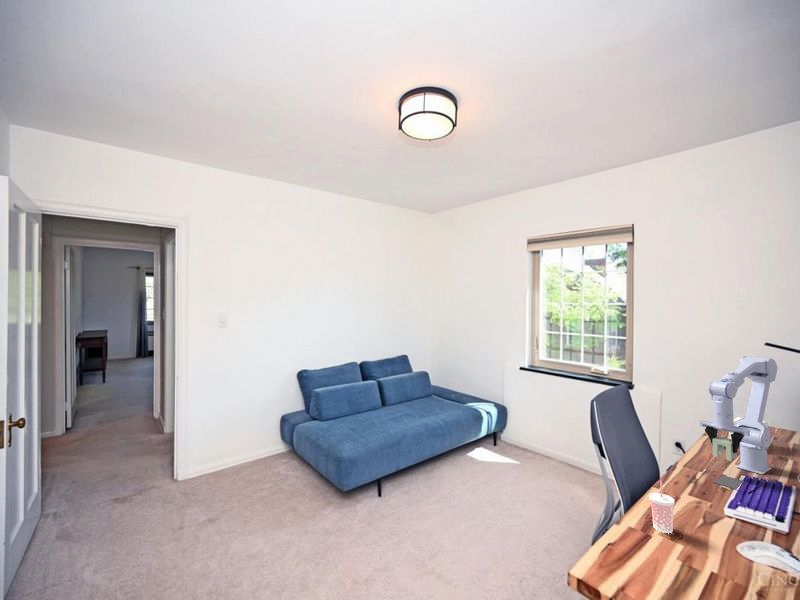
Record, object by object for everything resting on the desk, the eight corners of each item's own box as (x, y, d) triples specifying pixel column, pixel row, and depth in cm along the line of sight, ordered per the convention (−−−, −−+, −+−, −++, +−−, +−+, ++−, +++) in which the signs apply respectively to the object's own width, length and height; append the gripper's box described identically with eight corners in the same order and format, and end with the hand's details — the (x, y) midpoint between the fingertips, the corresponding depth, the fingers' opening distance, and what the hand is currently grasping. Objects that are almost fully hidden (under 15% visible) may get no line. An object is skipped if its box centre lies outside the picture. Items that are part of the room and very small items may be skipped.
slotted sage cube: (718, 453, 146) (718, 436, 146) (737, 458, 142) (736, 440, 142) (712, 456, 143) (712, 438, 144) (730, 461, 139) (730, 443, 139)
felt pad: (724, 476, 143) (724, 475, 143) (759, 486, 134) (759, 485, 134) (712, 482, 138) (712, 481, 138) (748, 493, 129) (748, 492, 129)
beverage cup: (667, 537, 105) (665, 486, 106) (645, 526, 111) (643, 478, 111) (680, 532, 108) (678, 482, 108) (658, 521, 113) (657, 474, 114)
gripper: (695, 410, 147) (697, 446, 147) (743, 419, 135) (745, 458, 134) (704, 408, 151) (705, 442, 150) (751, 416, 138) (753, 454, 138)
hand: (724, 450), depth 142 cm, fingers closed on slotted sage cube, 5 cm apart
